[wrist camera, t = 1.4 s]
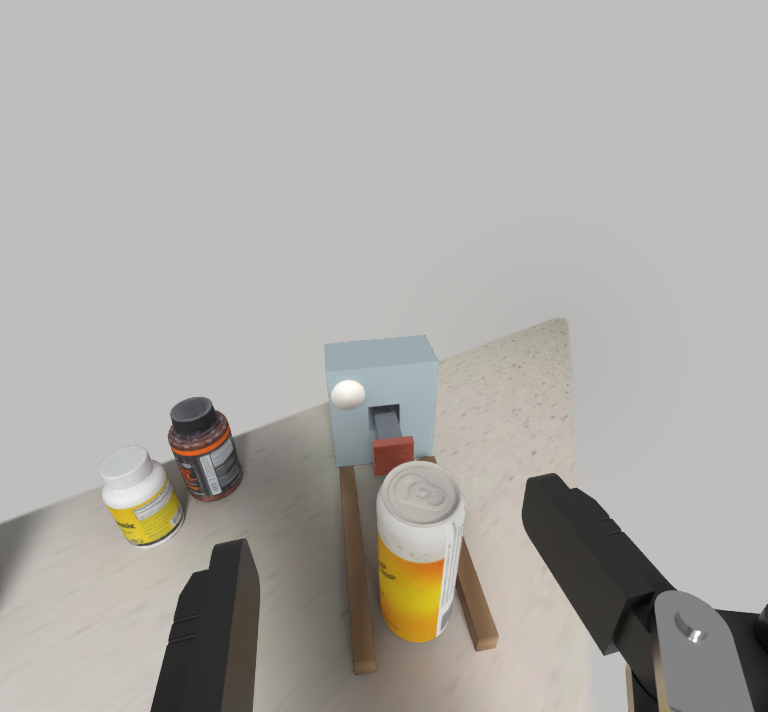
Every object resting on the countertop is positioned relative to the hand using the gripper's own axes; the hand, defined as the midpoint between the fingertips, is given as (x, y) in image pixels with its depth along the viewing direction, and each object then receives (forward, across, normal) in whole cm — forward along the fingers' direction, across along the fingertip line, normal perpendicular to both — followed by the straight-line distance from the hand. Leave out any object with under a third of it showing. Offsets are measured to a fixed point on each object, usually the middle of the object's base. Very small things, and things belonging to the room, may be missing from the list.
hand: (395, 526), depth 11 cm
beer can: (+12, -4, +26) cm, 29 cm away
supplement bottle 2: (+30, +15, +24) cm, 41 cm away
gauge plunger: (+27, -5, +20) cm, 34 cm away
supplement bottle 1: (+25, +21, +24) cm, 41 cm away
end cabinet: (+32, -5, +24) cm, 40 cm away
